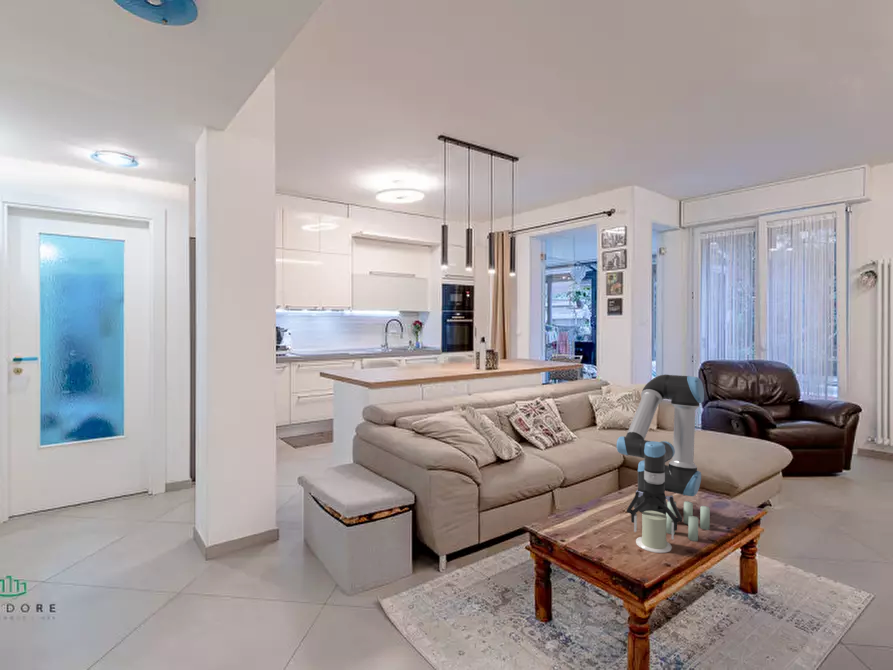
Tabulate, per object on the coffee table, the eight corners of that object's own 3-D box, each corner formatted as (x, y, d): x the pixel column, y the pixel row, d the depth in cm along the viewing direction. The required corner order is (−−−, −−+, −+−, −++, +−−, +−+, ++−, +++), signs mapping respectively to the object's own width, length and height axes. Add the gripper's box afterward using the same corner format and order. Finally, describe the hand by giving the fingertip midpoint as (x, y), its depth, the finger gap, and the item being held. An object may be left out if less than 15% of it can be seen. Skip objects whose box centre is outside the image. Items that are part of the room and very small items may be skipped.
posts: (665, 535, 195) (665, 514, 194) (667, 517, 213) (667, 498, 213) (710, 544, 187) (711, 522, 187) (709, 525, 205) (709, 504, 205)
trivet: (634, 548, 183) (634, 546, 183) (637, 535, 195) (637, 533, 195) (670, 555, 177) (670, 554, 177) (672, 542, 189) (672, 540, 189)
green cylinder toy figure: (656, 551, 180) (656, 520, 179) (636, 541, 188) (636, 511, 188) (671, 546, 184) (672, 515, 184) (651, 536, 192) (652, 507, 192)
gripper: (619, 479, 188) (619, 531, 189) (689, 489, 176) (688, 545, 177) (622, 474, 195) (621, 524, 195) (689, 483, 183) (688, 537, 184)
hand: (653, 534), depth 186 cm, fingers open, 13 cm apart
